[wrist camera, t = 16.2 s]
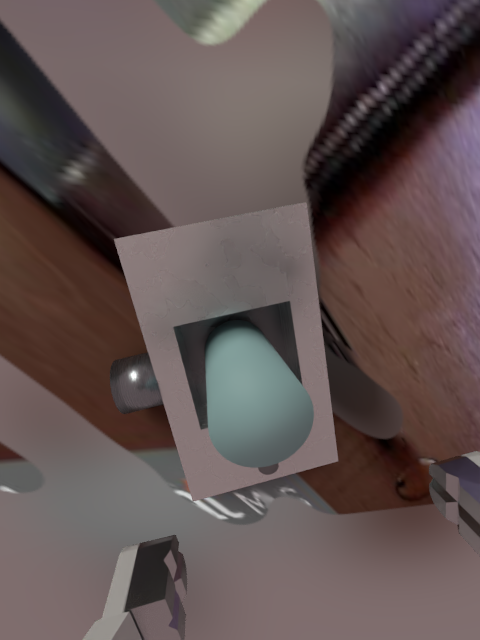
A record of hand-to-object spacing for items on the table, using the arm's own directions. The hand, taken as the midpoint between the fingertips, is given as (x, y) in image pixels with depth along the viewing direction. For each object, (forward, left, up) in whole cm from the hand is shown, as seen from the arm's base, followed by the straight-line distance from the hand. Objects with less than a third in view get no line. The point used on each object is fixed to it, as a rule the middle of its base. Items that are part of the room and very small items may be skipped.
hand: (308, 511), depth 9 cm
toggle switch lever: (0, 0, -15) cm, 15 cm away
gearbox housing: (+2, 0, -16) cm, 16 cm away
